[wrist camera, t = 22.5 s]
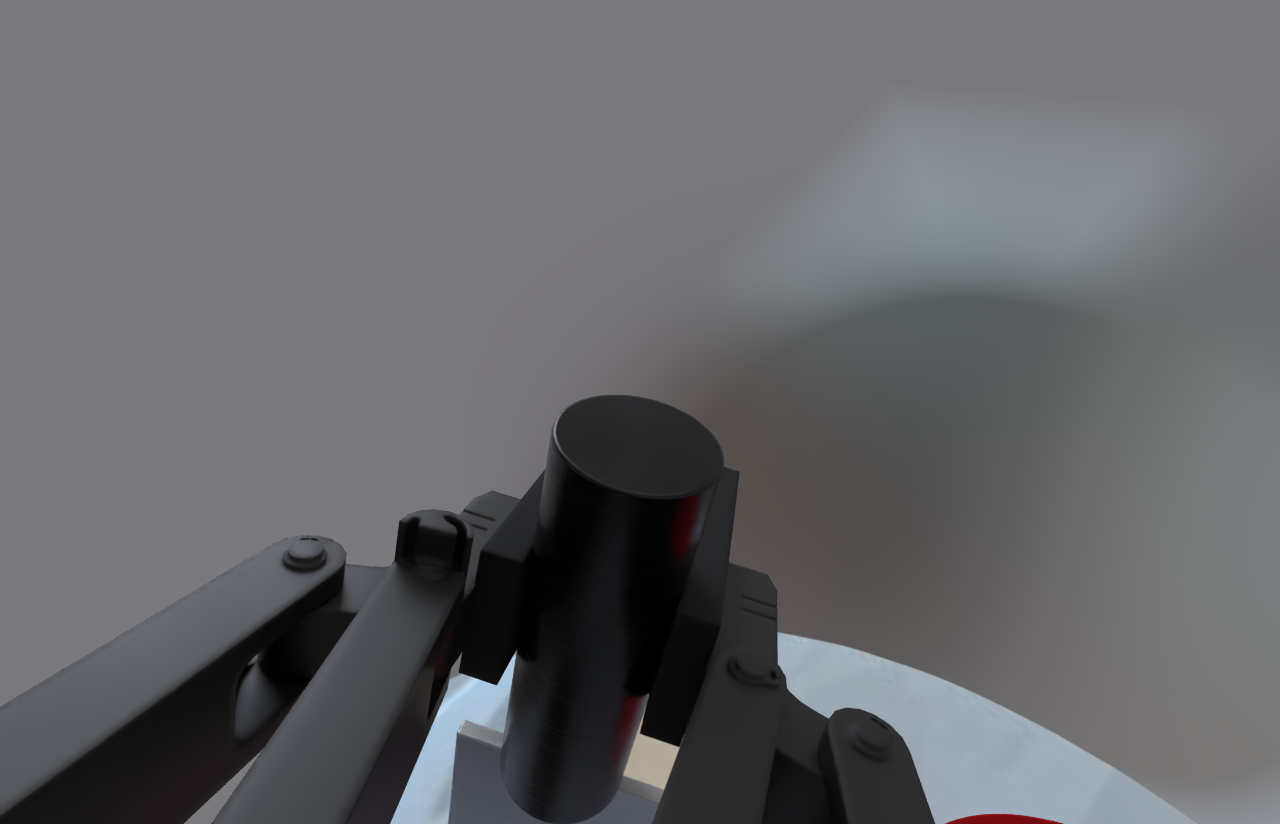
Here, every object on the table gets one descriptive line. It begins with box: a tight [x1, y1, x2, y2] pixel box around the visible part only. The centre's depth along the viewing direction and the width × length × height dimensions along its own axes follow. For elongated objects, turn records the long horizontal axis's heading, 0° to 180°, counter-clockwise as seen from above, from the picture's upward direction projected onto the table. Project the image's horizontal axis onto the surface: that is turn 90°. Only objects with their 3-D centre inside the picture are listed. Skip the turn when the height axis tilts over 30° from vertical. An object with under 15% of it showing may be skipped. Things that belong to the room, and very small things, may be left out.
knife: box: [448, 395, 724, 824], centre depth 16 cm, size 3×5×19 cm, turn 79°
